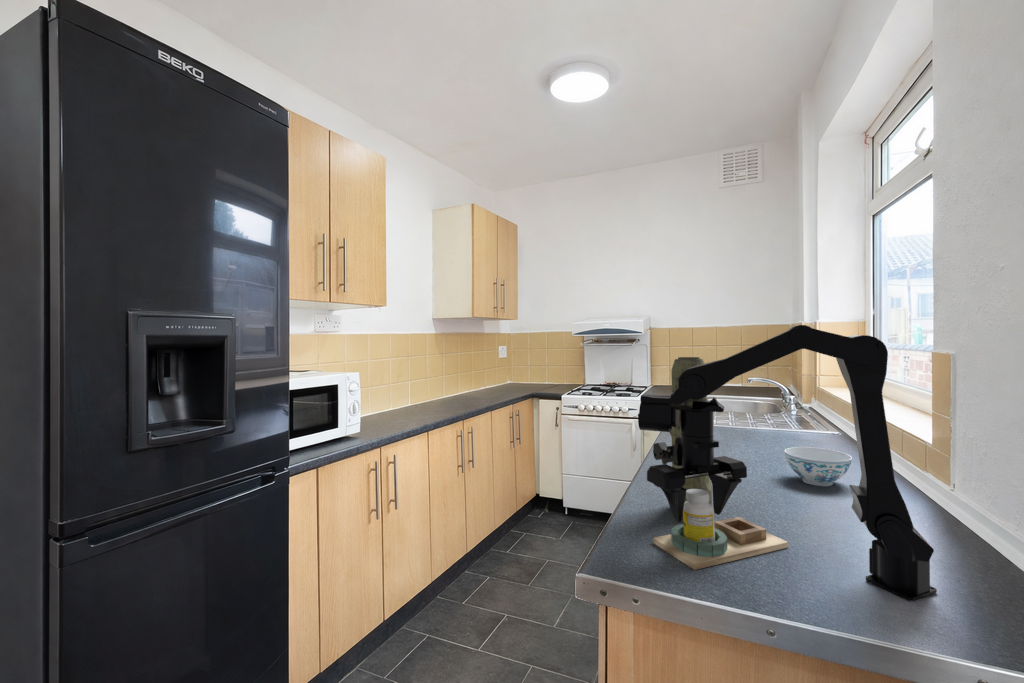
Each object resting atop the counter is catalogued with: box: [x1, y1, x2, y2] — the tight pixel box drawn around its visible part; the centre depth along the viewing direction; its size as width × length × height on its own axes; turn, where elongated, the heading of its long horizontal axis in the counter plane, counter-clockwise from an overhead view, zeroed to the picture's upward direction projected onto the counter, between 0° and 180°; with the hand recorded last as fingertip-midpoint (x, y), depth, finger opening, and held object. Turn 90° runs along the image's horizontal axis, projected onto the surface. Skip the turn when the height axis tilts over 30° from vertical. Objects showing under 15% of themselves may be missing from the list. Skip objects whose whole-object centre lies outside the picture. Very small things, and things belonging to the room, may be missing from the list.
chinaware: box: [784, 446, 853, 487], centre depth 121 cm, size 15×15×8 cm
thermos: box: [669, 356, 713, 516], centre depth 103 cm, size 9×12×35 cm
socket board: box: [652, 516, 789, 571], centre depth 86 cm, size 11×22×3 cm, turn 110°
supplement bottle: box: [682, 489, 715, 543], centre depth 84 cm, size 5×5×10 cm
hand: (697, 517), depth 84 cm, fingers open, 9 cm apart
